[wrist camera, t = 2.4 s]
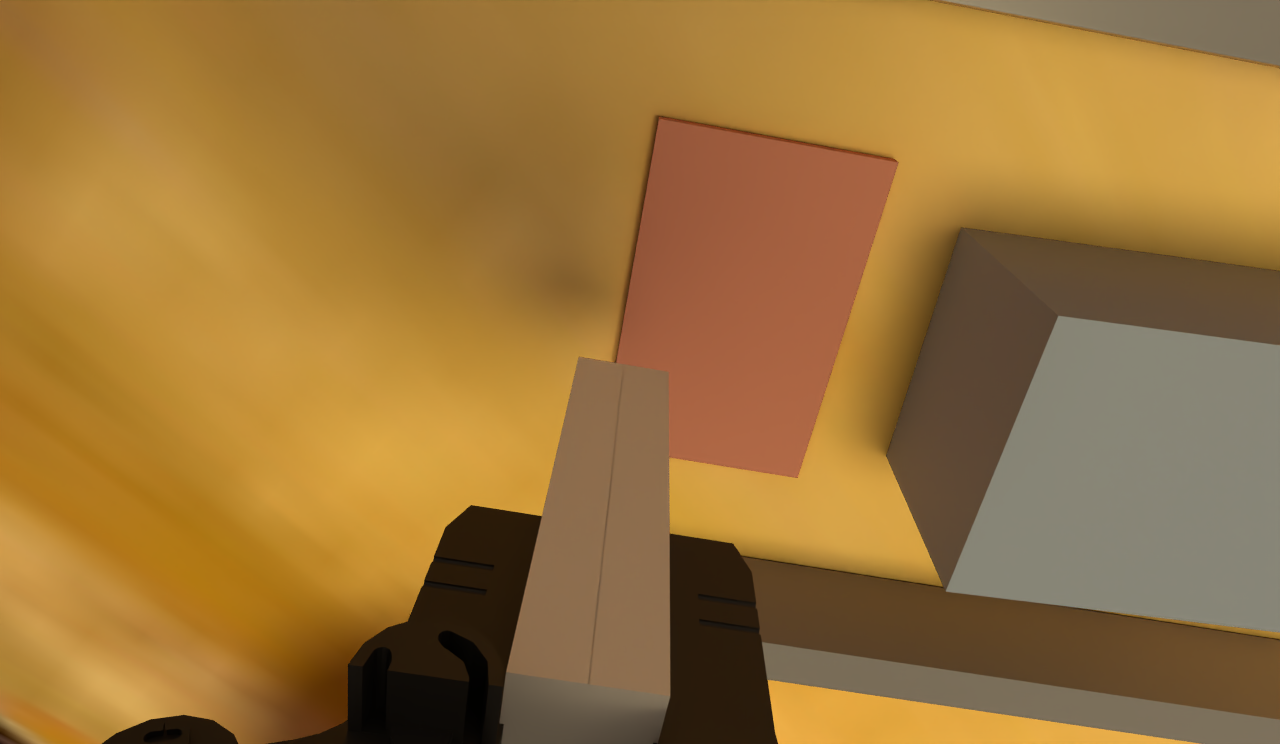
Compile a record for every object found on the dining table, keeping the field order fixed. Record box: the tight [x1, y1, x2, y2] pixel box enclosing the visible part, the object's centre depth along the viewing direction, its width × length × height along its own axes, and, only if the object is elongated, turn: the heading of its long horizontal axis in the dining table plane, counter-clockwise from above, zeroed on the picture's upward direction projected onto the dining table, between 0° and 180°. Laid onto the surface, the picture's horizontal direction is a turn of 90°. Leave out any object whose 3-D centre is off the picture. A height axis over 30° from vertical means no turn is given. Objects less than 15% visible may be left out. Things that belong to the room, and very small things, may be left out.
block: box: [886, 227, 1280, 632], centre depth 17 cm, size 6×8×5 cm
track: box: [616, 0, 1280, 744], centre depth 17 cm, size 16×20×3 cm
